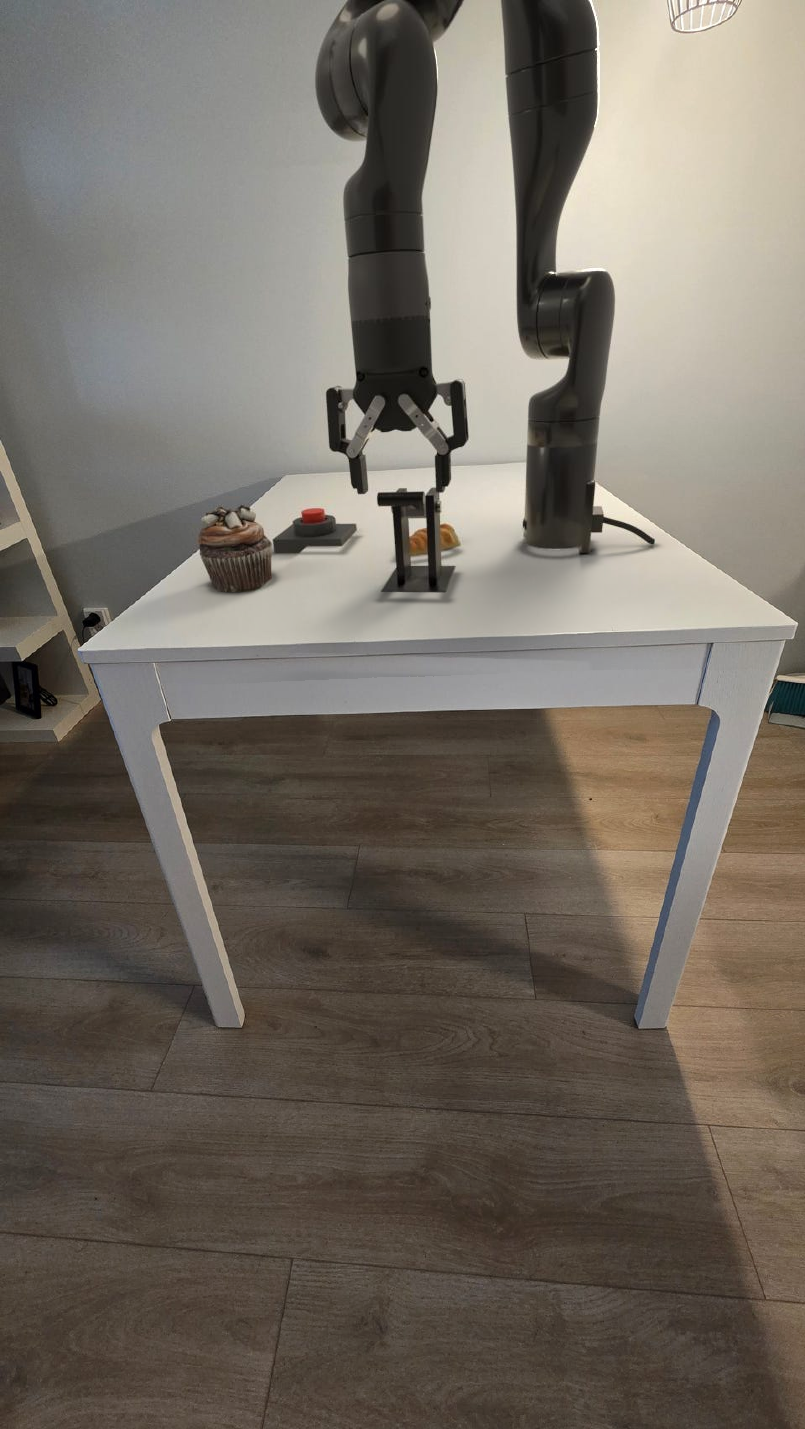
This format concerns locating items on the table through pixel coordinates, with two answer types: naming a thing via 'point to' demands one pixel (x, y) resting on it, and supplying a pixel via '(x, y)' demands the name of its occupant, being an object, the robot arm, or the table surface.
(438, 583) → the bracket
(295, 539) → the control block
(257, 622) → the table surface
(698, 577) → the table surface
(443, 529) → the pastry
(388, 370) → the robot arm
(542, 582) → the table surface
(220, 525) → the cupcake
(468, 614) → the table surface
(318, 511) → the button
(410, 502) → the lever
